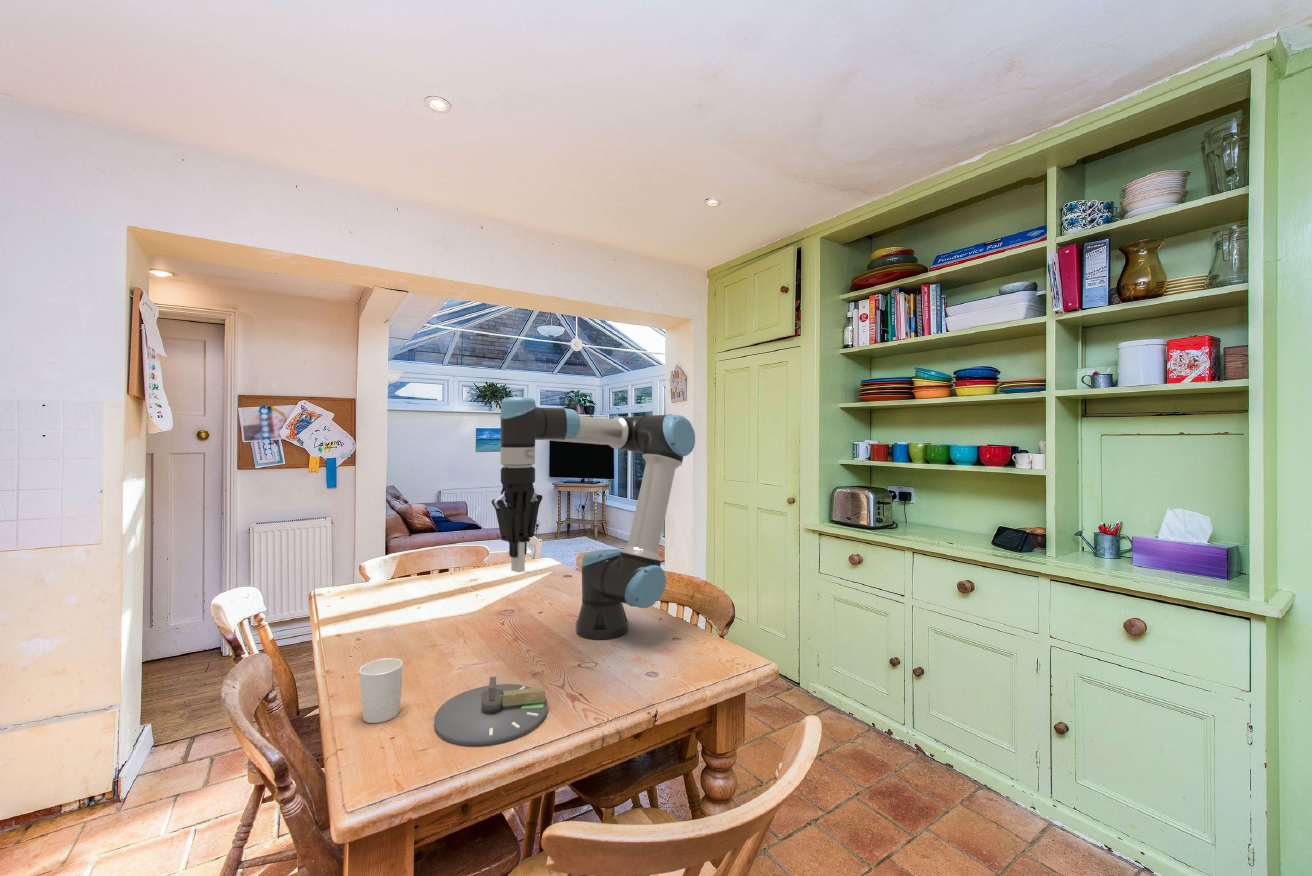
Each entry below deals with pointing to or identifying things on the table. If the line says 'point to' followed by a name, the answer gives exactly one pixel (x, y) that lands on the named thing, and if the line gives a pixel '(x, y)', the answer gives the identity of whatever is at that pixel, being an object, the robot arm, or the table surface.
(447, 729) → the dial
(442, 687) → the table surface
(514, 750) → the table surface
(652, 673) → the table surface
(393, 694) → the white cup
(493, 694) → the needle
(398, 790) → the table surface
